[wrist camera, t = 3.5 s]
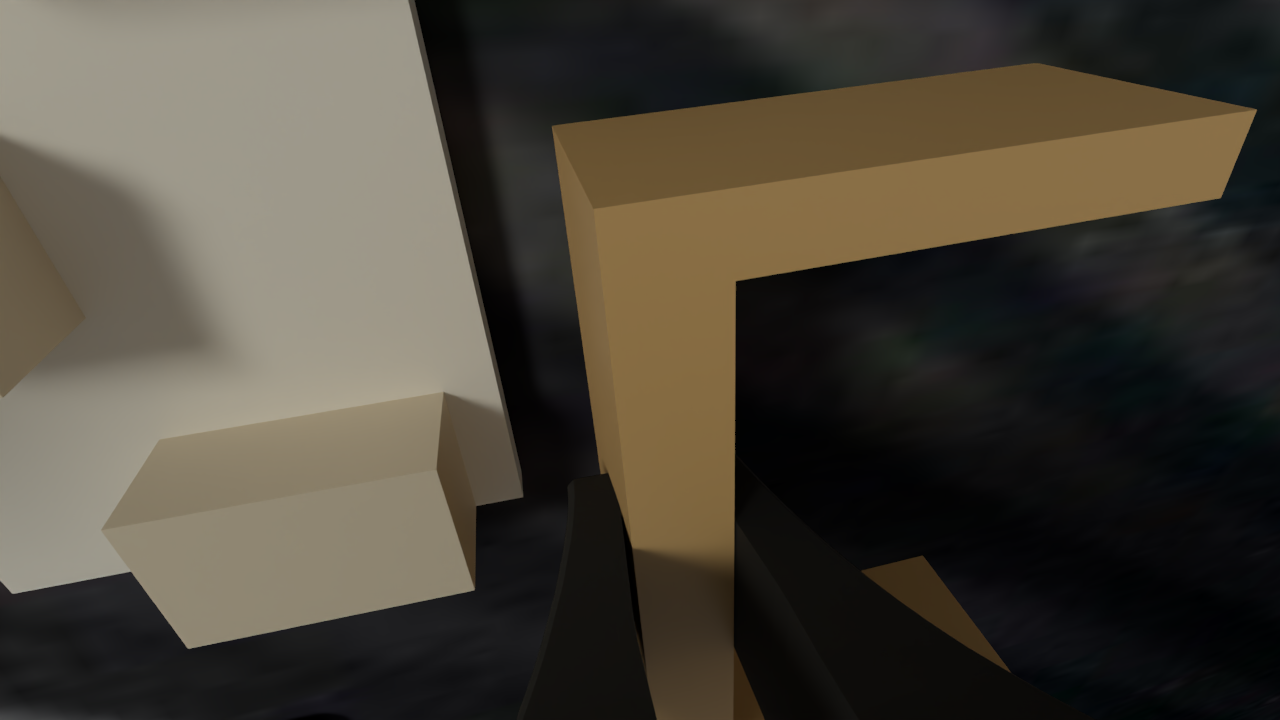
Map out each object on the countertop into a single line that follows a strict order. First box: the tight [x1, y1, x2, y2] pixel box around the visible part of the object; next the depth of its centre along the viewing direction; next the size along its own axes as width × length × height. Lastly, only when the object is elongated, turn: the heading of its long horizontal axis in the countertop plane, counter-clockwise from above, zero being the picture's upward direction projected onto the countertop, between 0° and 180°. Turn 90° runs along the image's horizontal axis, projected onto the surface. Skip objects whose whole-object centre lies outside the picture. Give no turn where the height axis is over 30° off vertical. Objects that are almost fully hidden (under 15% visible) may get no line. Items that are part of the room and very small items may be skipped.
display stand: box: [0, 0, 523, 649], centre depth 9 cm, size 10×14×3 cm
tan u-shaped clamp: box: [552, 63, 1257, 720], centre depth 11 cm, size 7×12×3 cm, turn 4°
